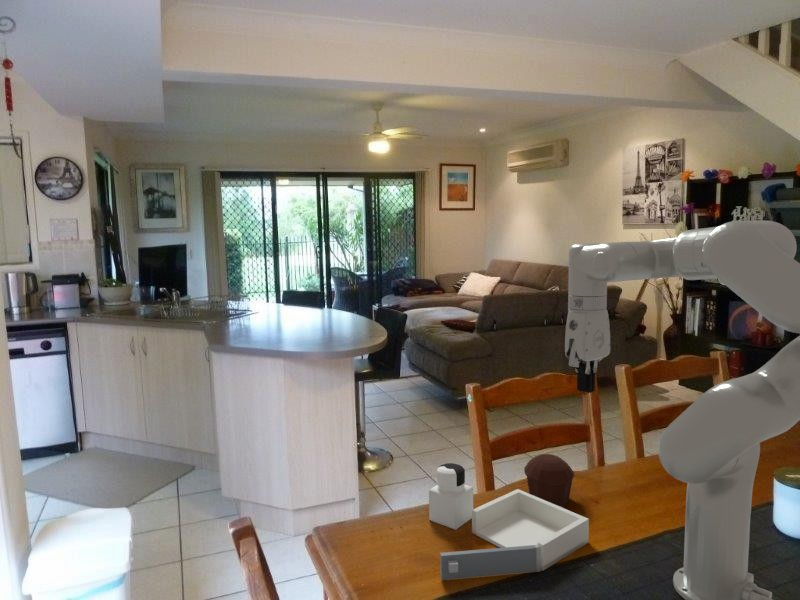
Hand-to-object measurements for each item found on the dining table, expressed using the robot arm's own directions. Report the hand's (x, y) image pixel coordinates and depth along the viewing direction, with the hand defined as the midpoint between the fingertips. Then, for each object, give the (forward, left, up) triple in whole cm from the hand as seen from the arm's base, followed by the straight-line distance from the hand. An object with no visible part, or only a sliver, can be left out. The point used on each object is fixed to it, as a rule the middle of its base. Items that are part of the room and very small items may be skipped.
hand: (585, 390), depth 118 cm
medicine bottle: (+20, +20, -29) cm, 41 cm away
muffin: (+12, -4, -29) cm, 32 cm away
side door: (0, +29, -29) cm, 41 cm away
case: (+4, +14, -29) cm, 33 cm away
